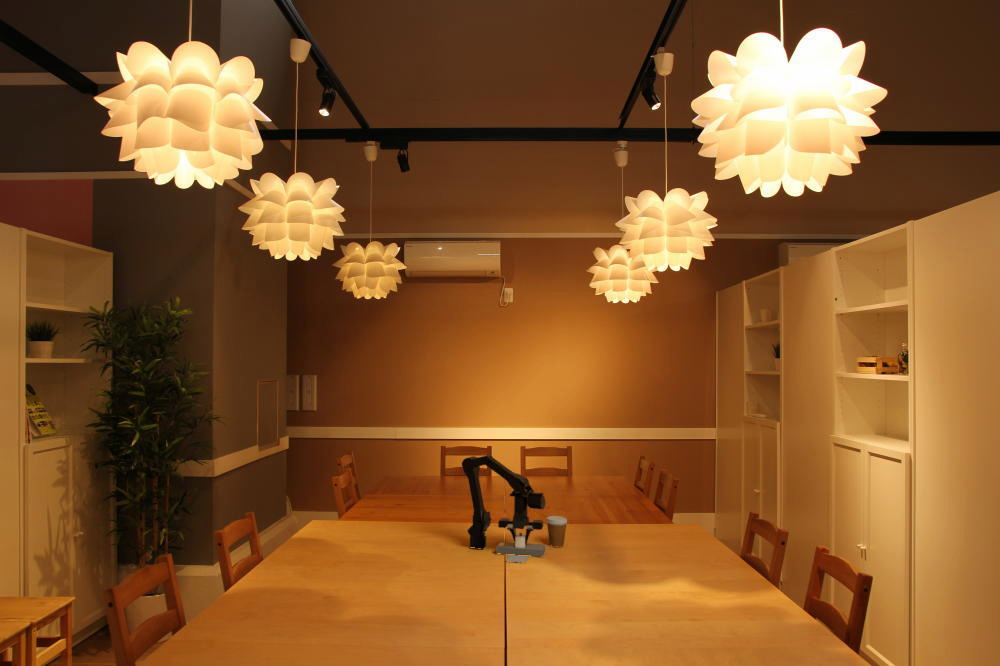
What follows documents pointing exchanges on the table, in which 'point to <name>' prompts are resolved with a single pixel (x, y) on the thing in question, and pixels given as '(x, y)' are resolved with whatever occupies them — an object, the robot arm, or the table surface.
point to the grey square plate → (517, 558)
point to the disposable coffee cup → (556, 530)
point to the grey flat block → (520, 549)
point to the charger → (520, 541)
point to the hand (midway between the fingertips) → (520, 544)
